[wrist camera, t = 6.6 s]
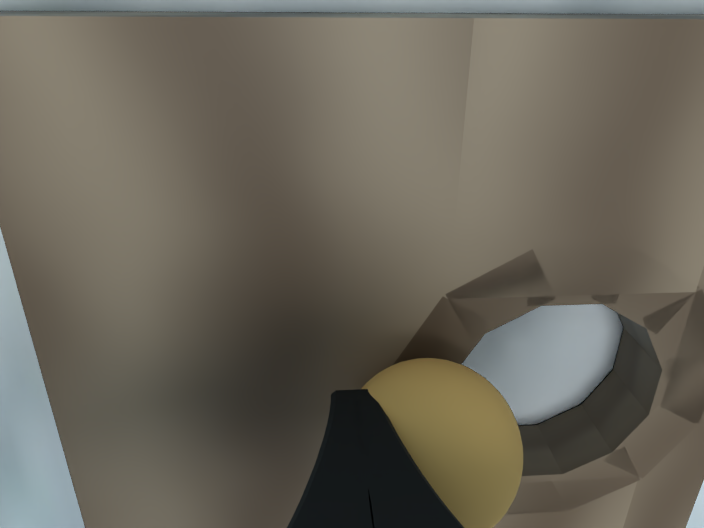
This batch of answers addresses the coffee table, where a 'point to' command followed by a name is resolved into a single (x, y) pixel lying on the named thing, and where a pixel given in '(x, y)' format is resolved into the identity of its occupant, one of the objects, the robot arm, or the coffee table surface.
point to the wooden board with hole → (350, 241)
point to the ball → (455, 435)
